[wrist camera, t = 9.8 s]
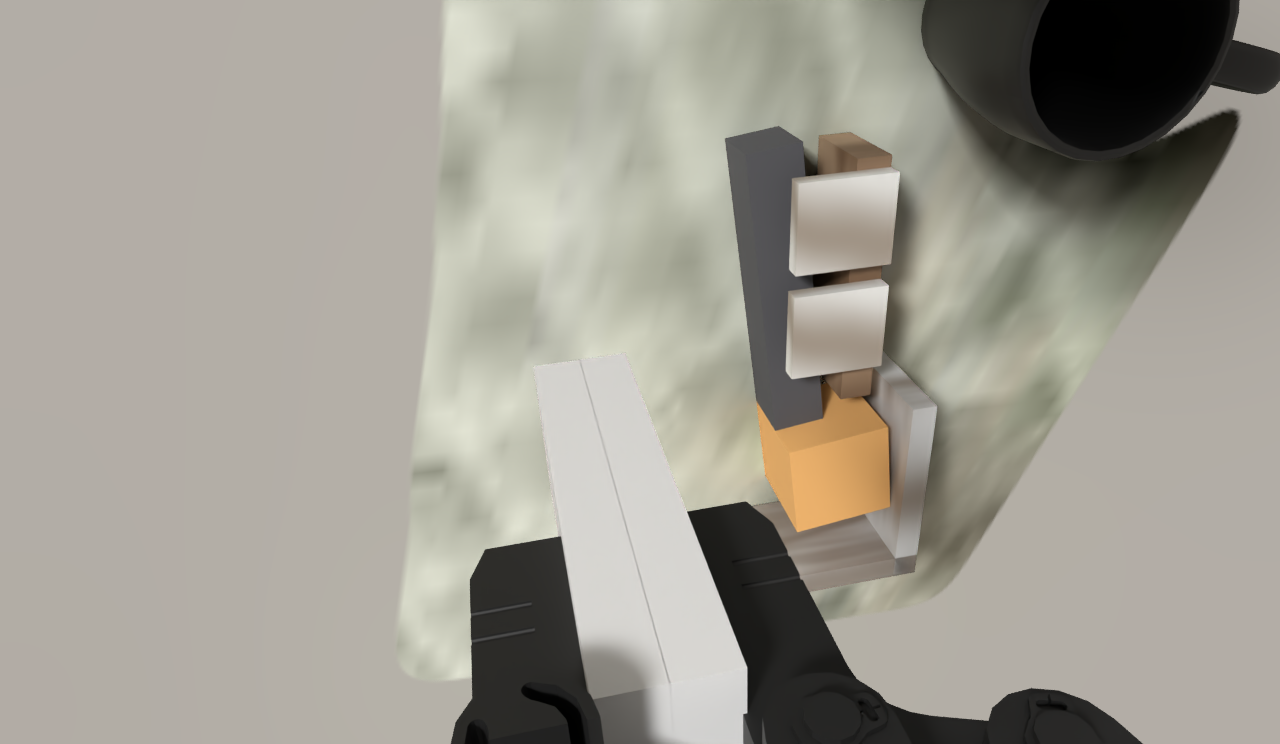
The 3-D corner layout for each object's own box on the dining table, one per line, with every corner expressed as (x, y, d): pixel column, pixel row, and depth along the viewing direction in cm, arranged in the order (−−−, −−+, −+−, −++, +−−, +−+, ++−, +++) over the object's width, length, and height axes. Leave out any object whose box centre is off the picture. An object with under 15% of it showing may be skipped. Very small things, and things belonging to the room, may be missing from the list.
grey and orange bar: (724, 138, 37) (760, 167, 33) (831, 114, 38) (880, 139, 33) (765, 475, 47) (797, 532, 42) (850, 452, 47) (890, 507, 43)
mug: (1082, 141, 41) (1242, 198, 32) (865, 90, 37) (981, 139, 29) (1166, -43, 37) (1369, -31, 29) (934, -117, 34) (1089, -129, 26)
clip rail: (755, 142, 37) (803, 178, 32) (901, 126, 38) (971, 159, 33) (750, 522, 48) (786, 596, 43) (865, 502, 49) (914, 571, 44)
